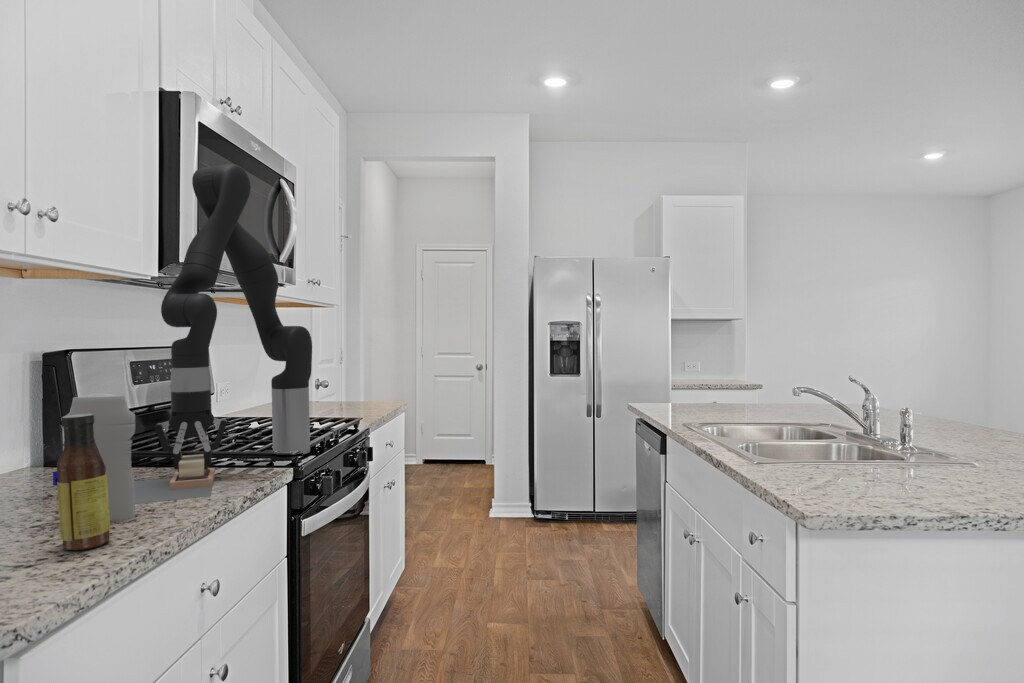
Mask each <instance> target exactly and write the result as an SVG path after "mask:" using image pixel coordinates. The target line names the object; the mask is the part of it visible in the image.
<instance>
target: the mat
mask: <svg viewBox="0 0 1024 683" xmlns="http://www.w3.org/2000/svg"><path fill="white" fill-rule="evenodd" d="M206 478H208V476H202V477H191V478H180V479H179V481H185V480H195V479H206ZM171 479H172V477H167V478H160V479H159V478H158V479H147V480H134V495H135V505H139V504H141V505H142V504H148V503H158V502H168V501H169V502H170V501H176V500H177V501H178V500H188V499H189V500H190V499H196V498H198V499H199V498H207V497H211V495H212V492H213V488H214V483H215V479H216V473H215V476H214V479H213V483H212V486H208V487H197V488H187V489H177V490H170V481H171Z"/></svg>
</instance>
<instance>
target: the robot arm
mask: <svg viewBox="0 0 1024 683" xmlns="http://www.w3.org/2000/svg"><path fill="white" fill-rule="evenodd" d="M191 183H192V188H193V192H194V194H195V197H196V199H197V201H198V204H199V206H200V207H201V210H202V211H203V212H204V214H205V216H206V218H207V221H206V222H205V223H204V225H203V226H202V227H201V228H200V229H199V230H198V232H197V233H196V234H195V236H193V238H192V240H191V242H190V243H189V245H188V247H187V249H186V252H185V253H186V254H185V257H184V259H183V263H182V267H181V270H180V273H179V274H178V275H177V276H176V278H175V279H174V281H173V283H172V284H171V286H170V287H169V289H168V290H167V292H166V293H165V295H164V296H163V299H162V302H161V305H160V306H161V307H160V313H161V317H162V320H163V321H164V323H165V324H166V325H167V326H170V327H172V328H190V329H189V331H188V333H187V336H185V337H184V338H180V339H177V340H174V341H173V342H172V344H171V347H170V348H171V353H170V355H171V361H170V362H171V373H170V385H169V389H170V411H171V413H170V416H169V419H168V420H167V421H163V422H157V423H156V424H155V426H154V431H155V432H156V434H157V437H158V441H159V443H160V446H161V448H162V451H163V452H164V453H171V454H173V469H174V470H176V471H178V472H179V462H180V460H181V459H182V456H183V453H182V446H183V443H184V440H185V439H188V438H191V437H194V438H199V440H200V443H201V444H202V447H203V453H202V454H204V468H205V469H208V468H209V467H211V465H212V451H213V450H215V449H218V448H220V446H221V443H222V439H223V436H224V433H225V430H226V426H227V423H228V420H227V419H225V418H223V419H220V418H216V417H215V416H214V415H213V413H212V379H211V378H212V377H211V372H210V345H211V340H212V337H213V332H214V328H215V325H216V322H217V318H218V308H217V304H216V302H215V300H214V299H213V297H212V296H210V295H209V294H207V293H201V292H202V291H203V292H204V291H207V290H209V289H211V288H213V287H214V286H215V285H216V282H217V279H218V276H219V272H220V268H221V264H222V261H223V256H224V253H225V255H226V256H227V259H228V262H229V264H230V266H231V268H232V271H233V274H234V275H235V276H234V277H235V278H236V280H237V283H238V284H239V288H240V289H241V291H242V293H243V294H244V295H243V296H244V297H245V300H246V303H247V305H248V307H249V309H250V311H251V315H252V317H253V320H254V322H255V326H256V329H257V333H258V336H259V339H260V342H261V346H262V347H263V350H264V352H265V353H266V355H267V357H269V359H270V360H273V361H275V362H285V366H284V370H282V372H280V373H279V374H276V375H275V376H273V377H272V378H271V380H270V381H271V416H272V417H271V418H272V419H271V420H272V421H271V422H272V423H271V424H272V428H271V429H272V432H271V433H272V452H273V451H280V452H290V451H297V450H298V451H301V452H302V453H303V454H302V455H305V454H309V453H310V452H311V437H310V436H311V433H310V432H311V429H310V427H311V426H310V425H311V424H310V420H311V419H310V379H311V376H312V364H313V363H312V360H313V357H312V356H313V341H312V336H311V334H310V333H311V332H310V331H309V330H308V329H307V328H306V327H305V326H300V325H283V324H282V322H281V320H280V317H279V315H278V312H277V309H276V308H277V307H276V298H277V293H278V288H279V276H278V275H279V274H278V272H277V269H276V267H275V265H274V262H273V260H272V257H271V255H270V254H269V252H268V250H267V248H265V247H264V246H263V245H262V243H260V242H259V240H257V239H256V238H255V237H254V236H253V235H252V234H251V233H249V232H248V231H247V230H246V229H245V228H244V227H243V226H242V225H241V224H240V222H239V220H240V218H241V216H242V213H243V211H244V209H245V206H246V205H247V203H248V200H249V198H250V194H251V188H252V186H251V181H250V178H249V176H248V174H247V172H246V171H245V169H244V168H243V167H241V166H240V165H237V164H236V163H235V164H234V163H228V164H227V163H224V164H219V165H212V166H207V167H201V168H199V169H196V170H195V171H194V173H193V174H192V180H191ZM213 424H214V425H215V426H214V427H215V429H216V430H217V433H216V436H215V439H214V441H213V442H211V441H210V440H209V439H210V438H209V436H208V433H207V431H208V430H209V429H210V427H211V426H212V425H213ZM169 427H171V428H172V429H173V431H175V433H176V434H177V436H176V439H175V443H174V445H172V444H171V443H170V440H169V437H168V435H167V432H168V431H169Z"/></svg>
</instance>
